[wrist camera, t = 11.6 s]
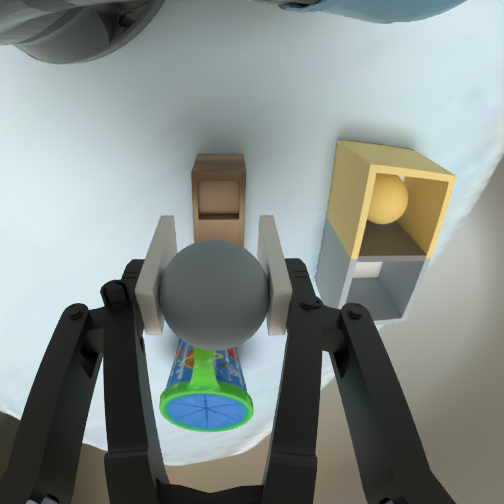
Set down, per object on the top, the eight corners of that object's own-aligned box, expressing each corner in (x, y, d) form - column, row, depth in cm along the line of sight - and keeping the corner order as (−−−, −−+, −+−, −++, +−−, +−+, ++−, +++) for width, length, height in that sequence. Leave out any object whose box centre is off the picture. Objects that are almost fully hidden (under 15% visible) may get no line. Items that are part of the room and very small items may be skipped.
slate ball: (162, 220, 15) (139, 287, 11) (267, 220, 15) (282, 287, 11) (172, 298, 18) (161, 370, 13) (261, 298, 18) (270, 371, 14)
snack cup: (238, 382, 45) (242, 442, 37) (168, 376, 43) (162, 436, 35) (258, 308, 37) (267, 380, 28) (168, 299, 35) (155, 371, 27)
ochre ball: (352, 159, 27) (371, 177, 23) (398, 165, 28) (423, 183, 23) (344, 208, 30) (360, 233, 26) (388, 211, 30) (409, 235, 26)
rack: (197, 154, 27) (191, 172, 23) (243, 154, 27) (246, 172, 23) (201, 267, 33) (198, 298, 29) (239, 267, 34) (241, 298, 29)
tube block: (337, 139, 27) (370, 164, 20) (412, 149, 27) (455, 175, 21) (314, 280, 35) (332, 328, 29) (379, 278, 36) (404, 321, 30)
